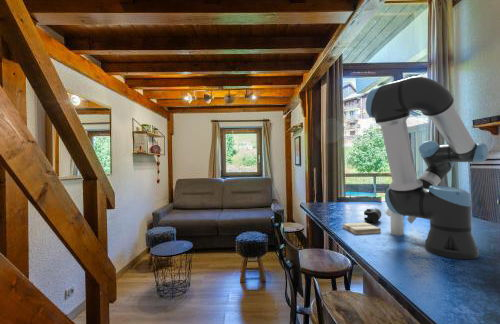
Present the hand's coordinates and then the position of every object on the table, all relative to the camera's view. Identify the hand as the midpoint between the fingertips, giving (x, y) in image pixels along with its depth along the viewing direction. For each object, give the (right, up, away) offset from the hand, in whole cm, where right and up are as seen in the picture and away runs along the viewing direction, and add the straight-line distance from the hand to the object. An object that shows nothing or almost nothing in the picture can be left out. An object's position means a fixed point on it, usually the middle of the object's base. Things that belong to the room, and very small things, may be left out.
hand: (397, 217), depth 113 cm
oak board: (-13, -8, +7) cm, 17 cm away
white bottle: (0, -7, -1) cm, 7 cm away
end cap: (0, -7, +22) cm, 23 cm away
